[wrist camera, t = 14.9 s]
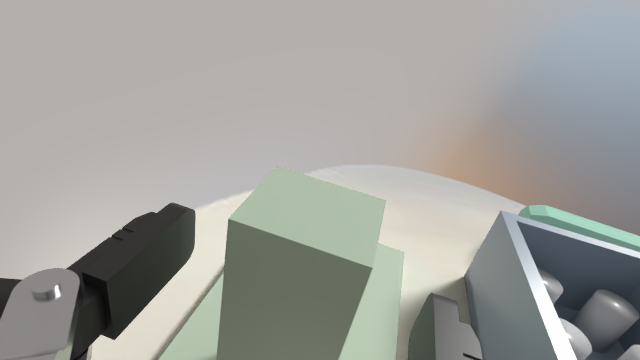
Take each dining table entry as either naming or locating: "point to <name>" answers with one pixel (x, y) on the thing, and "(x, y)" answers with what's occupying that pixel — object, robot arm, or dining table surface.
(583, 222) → the mint green bar
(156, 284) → the robot arm
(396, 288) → the lid
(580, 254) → the tub
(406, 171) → the dining table surface
